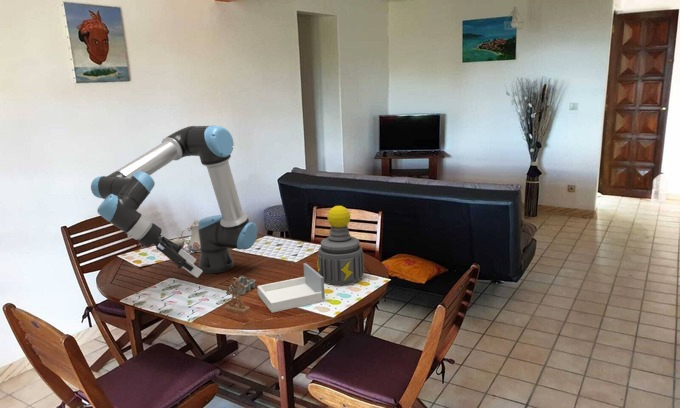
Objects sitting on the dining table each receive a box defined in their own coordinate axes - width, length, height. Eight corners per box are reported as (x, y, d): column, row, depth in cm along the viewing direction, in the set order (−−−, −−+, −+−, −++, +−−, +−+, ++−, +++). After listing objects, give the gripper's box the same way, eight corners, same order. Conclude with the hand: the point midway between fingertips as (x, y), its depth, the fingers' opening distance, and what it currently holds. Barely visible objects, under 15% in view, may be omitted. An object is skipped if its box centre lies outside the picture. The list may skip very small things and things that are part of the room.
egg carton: (243, 284, 201) (242, 274, 200) (258, 286, 198) (257, 277, 197) (226, 293, 192) (225, 283, 191) (242, 296, 189) (241, 286, 188)
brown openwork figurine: (224, 309, 178) (221, 277, 175) (231, 305, 181) (228, 274, 178) (243, 313, 173) (240, 281, 171) (250, 309, 177) (248, 277, 174)
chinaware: (216, 242, 264) (212, 211, 261) (230, 246, 251) (226, 213, 249) (164, 255, 247) (159, 222, 244) (176, 259, 234) (171, 225, 231)
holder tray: (257, 294, 189) (256, 272, 187) (307, 284, 197) (305, 263, 195) (271, 312, 173) (270, 288, 171) (324, 300, 181) (323, 277, 179)
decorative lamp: (324, 289, 192) (320, 213, 185) (313, 272, 210) (310, 203, 203) (370, 282, 197) (368, 208, 190) (356, 267, 214) (354, 199, 208)
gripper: (135, 231, 171) (184, 266, 180) (138, 250, 149) (194, 289, 158) (150, 214, 172) (198, 250, 181) (155, 231, 150) (210, 270, 159)
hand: (196, 268), depth 170 cm, fingers open, 13 cm apart
